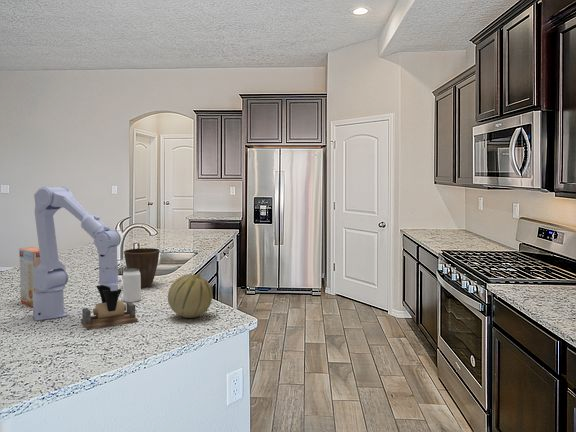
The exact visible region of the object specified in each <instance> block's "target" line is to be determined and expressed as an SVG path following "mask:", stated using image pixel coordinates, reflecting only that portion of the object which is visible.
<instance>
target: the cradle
mask: <svg viewBox="0 0 576 432" xmlns="http://www.w3.org/2000/svg"><path fill="white" fill-rule="evenodd" d="M125 305H126V311H124V315H120V316H113V317H106V318H100V319H97V318H96V315H92V314H91V310H90V309H89V307H83V308H82V309H81V312H82V318H80V322H81V324H82V325H83V326H84V328H85V329H87V330H93V329H101V328H106V327H113V326H119V325H120V326H121V325H127V324H133V323H138V322H139V319H138V317H137V316H136V304H134V302H125Z"/></svg>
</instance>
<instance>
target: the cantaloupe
mask: <svg viewBox="0 0 576 432" xmlns="http://www.w3.org/2000/svg"><path fill="white" fill-rule="evenodd" d="M212 291H213V290H212V287H211V285H210V283H209V282H208V280H207V279H206V278H204V277H202V276H201V273H197V274H192V273H191V274H190V273H187V274H183V275H181V276H179V277H178V278H176V279H175V280H174V281H173V282H172V284H171V285H170V286H169V288H168V292H167V302H168V305H169V307H170V309H171V310H172V311H173V312H174V313H175V314H176V315H178V316H180V317H183V318H185V319H193V318H194V319H195V318H198V317H200V316H202V315H204V313H206V312H207V311H208V310H209V308H210V306H211V303H212V301H213V292H212Z"/></svg>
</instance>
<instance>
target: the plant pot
mask: <svg viewBox="0 0 576 432" xmlns="http://www.w3.org/2000/svg"><path fill="white" fill-rule="evenodd" d="M123 254H124V260H125V261H124V262H125V265H126V269H139V272H140V275H141V289H147V287H148V288H151V287H152V285H153V282H154V279H155V276H156V273H157V267H158V263H159V258H160V249H158V248H153V247H150V248H149V247H146V248H145V247H144V248H140V247H139V248H131V249H130V248H129V249H126V250H124V251H123Z"/></svg>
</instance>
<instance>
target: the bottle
mask: <svg viewBox="0 0 576 432" xmlns="http://www.w3.org/2000/svg"><path fill="white" fill-rule="evenodd" d="M125 311H126V312H127V305H126V303H125V302H124V300H118V301H117V306H116V310H115V311H108V309H107V303H102V302H99V303H96V304H95V307H94V308H93V309H92V314H93V315H92V316H96V318H97V319H100V318H106V317H113V316H120V315H124V312H125Z"/></svg>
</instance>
